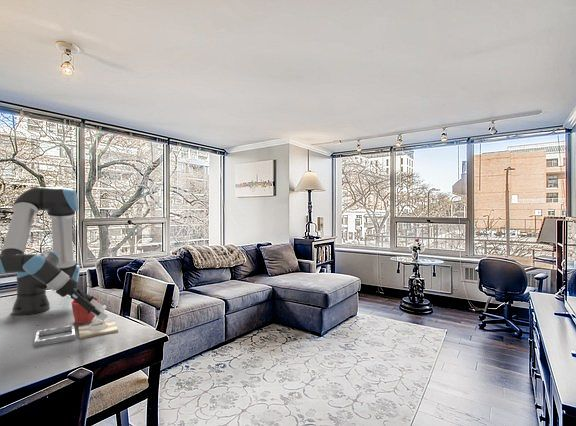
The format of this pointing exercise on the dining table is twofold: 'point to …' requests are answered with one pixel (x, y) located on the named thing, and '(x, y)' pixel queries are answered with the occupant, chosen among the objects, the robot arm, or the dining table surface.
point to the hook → (98, 322)
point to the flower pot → (81, 313)
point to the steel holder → (54, 339)
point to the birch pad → (88, 333)
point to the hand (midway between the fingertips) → (103, 313)
